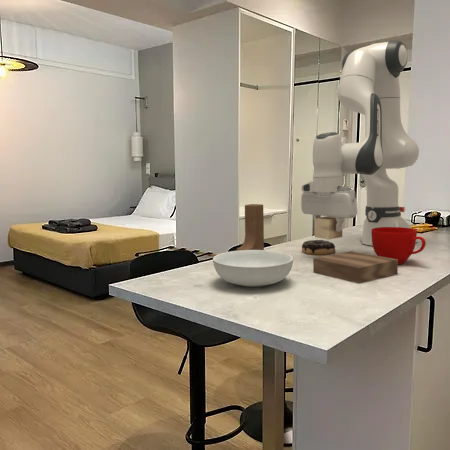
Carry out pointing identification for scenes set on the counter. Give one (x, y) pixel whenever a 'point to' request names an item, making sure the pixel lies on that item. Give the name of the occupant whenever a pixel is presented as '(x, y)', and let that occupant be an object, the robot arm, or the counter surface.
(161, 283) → the counter surface
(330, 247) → the donut
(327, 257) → the plinth
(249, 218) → the wooden block
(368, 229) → the robot arm
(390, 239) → the ceramic cup
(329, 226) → the beech cube
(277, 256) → the serving bowl
